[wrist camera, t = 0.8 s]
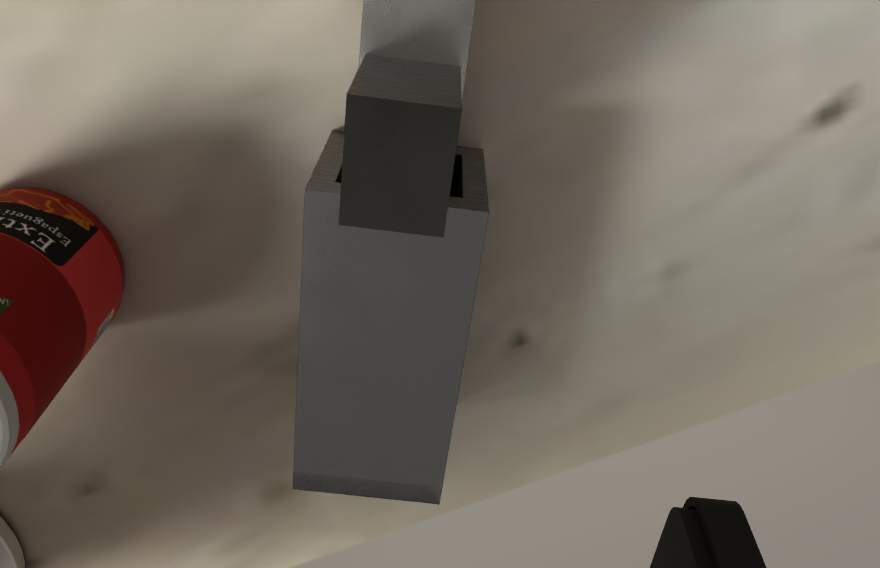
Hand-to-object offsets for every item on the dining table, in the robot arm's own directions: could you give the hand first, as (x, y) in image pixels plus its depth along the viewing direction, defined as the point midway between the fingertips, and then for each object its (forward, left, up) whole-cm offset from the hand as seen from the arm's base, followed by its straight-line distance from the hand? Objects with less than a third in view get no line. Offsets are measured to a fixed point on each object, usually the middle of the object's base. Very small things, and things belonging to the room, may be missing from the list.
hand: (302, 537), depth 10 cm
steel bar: (-5, 0, -23) cm, 23 cm away
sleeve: (-10, 0, -24) cm, 26 cm away
